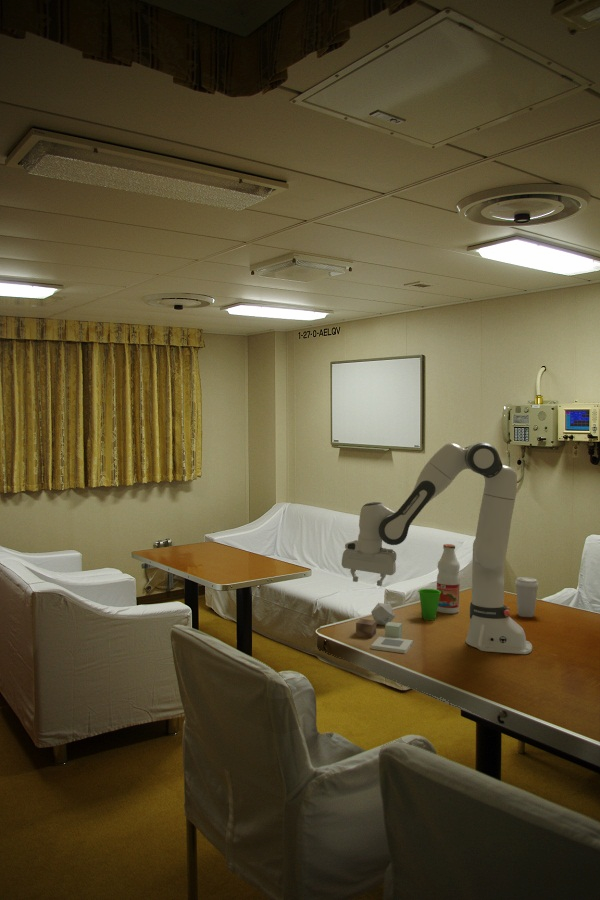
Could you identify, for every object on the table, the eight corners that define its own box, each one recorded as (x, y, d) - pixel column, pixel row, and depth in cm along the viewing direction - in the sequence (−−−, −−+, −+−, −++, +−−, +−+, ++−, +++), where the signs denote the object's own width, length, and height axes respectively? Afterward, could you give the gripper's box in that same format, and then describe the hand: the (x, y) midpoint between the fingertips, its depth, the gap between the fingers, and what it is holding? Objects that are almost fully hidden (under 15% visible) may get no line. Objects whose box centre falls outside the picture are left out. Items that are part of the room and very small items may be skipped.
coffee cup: (511, 611, 285) (512, 576, 285) (535, 612, 284) (536, 577, 284) (516, 617, 276) (517, 581, 275) (540, 618, 274) (541, 582, 274)
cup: (423, 614, 278) (424, 587, 278) (444, 618, 272) (444, 591, 272) (413, 618, 270) (414, 591, 270) (434, 622, 265) (435, 595, 265)
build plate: (412, 643, 238) (413, 639, 238) (405, 653, 226) (405, 649, 226) (379, 639, 242) (379, 635, 242) (371, 648, 231) (371, 644, 231)
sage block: (401, 636, 246) (402, 623, 246) (398, 640, 241) (398, 626, 241) (388, 635, 247) (388, 621, 247) (384, 638, 243) (385, 625, 243)
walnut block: (376, 634, 249) (376, 620, 249) (371, 638, 243) (372, 624, 243) (360, 632, 251) (360, 618, 251) (355, 636, 245) (356, 622, 245)
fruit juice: (463, 611, 284) (465, 545, 283) (451, 615, 277) (452, 547, 276) (443, 607, 290) (445, 542, 290) (431, 610, 284) (433, 544, 283)
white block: (380, 629, 256) (396, 609, 256) (364, 615, 260) (379, 595, 261) (386, 632, 263) (401, 612, 263) (370, 618, 267) (385, 599, 268)
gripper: (399, 548, 245) (397, 586, 245) (347, 541, 254) (345, 577, 255) (394, 551, 239) (391, 589, 240) (341, 543, 248) (338, 580, 249)
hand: (367, 583), depth 247 cm, fingers open, 8 cm apart
